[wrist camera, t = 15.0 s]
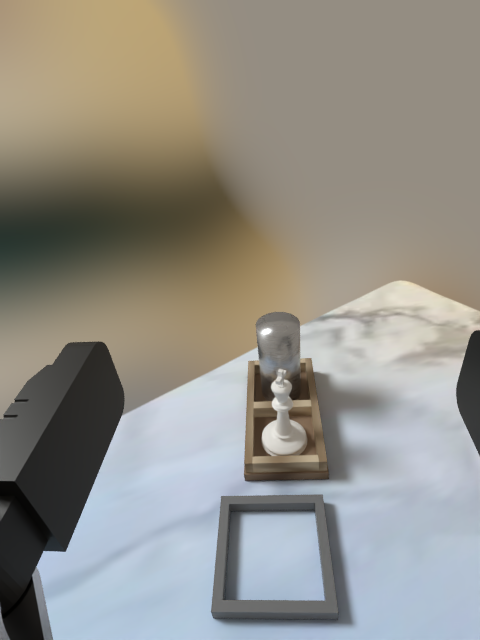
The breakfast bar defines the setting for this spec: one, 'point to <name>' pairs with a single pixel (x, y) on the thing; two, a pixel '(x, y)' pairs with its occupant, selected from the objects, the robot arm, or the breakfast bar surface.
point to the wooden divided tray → (302, 412)
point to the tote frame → (273, 607)
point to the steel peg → (279, 351)
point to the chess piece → (283, 423)
